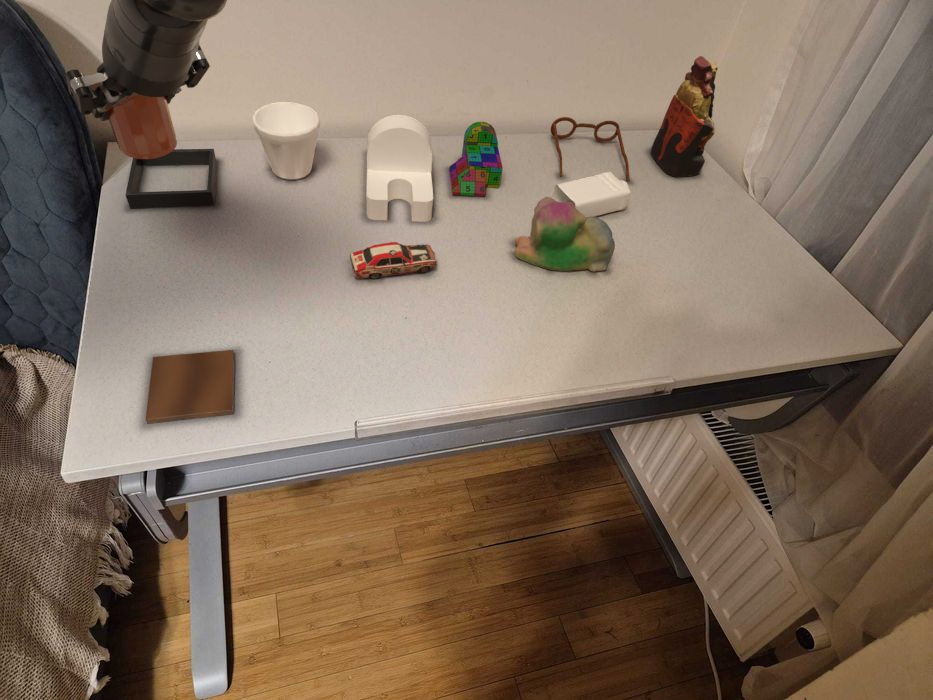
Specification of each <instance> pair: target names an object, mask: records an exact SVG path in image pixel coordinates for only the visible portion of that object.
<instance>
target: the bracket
mask: <svg viewBox="0 0 933 700" xmlns="http://www.w3.org/2000/svg"><path fill="white" fill-rule="evenodd" d="M432 168H433V151H432V140H431V136H430V134H429V130H428V129H427V128H426V127H425V125H424V124H423V123H421V122H420V121H419V120H418V119H416V118H414V117H411V116H409V115H404V114H391V115H388V116H385V117H382V118H381V119H379V120H377V121H376V122H375V124H373V126H372V127H371V128H370V130H369V132H368V134H367V142H366V195H365V196H366V217H367V219H370V220H372V221H388V206H389V205H388V204H389V202H391V201H392V200H393V201H394V200H402V201H406V202H407V203H409V205H410V213H411V214H410V216H411V217H410V218H411V222H415V223H416V222H419V223H427V222H429V221H431V220H432V216H433V205H434V190H433V189H434V188H433V179H432Z"/></svg>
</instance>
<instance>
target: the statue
mask: <svg viewBox="0 0 933 700" xmlns="http://www.w3.org/2000/svg"><path fill="white" fill-rule="evenodd" d="M718 69H719V67H718V65H717V63H716V62H713V61H709V60H707V58H705V56H702V55H699V56H698V57H696V58H695V59H694V61H693V64H692V65H691V66H690V71H688V72H686V73H685V76H684V80H683V81H682V82H681V84H680V85H679V87H678V88H677V91H676V93H675V94H674V95H673V96H672V98H671V100H670V103H669V105H668V106H667V109H666V112H665V114H664V117H663V120H662V122H661V125H660V128H659V129H658V132H657V134H656V136H655V138H654V141H653V143H652V145H651V149H650V155H651V156H652V158H653V160H654V161H655V162H656V164H657V165H658V166H659V167H660V169H661V170H662V171H663V172H664V173H665V174H667V175H669V176H671V177H675V178H682V177H694V176H697V175H698V174H700V172H701V170H702V169H703V166H704V165H705V163H706V159H705V157H704V155H703V154H704V151H705V147H706V145H707V143H708V141H710V140H711V139H712V137H713V136H714V135H715V133H716V130H715V122H713V120H712V118H713V111H714V100H715V90H716V84H715V82H716V81H715V80H716V77H717V72H718Z"/></svg>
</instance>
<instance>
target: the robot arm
mask: <svg viewBox="0 0 933 700" xmlns="http://www.w3.org/2000/svg"><path fill="white" fill-rule="evenodd" d="M227 2H228V0H111V1H110V3H109V5H108V7H107V12H106V13H107V14H106V21H105V26H104V31H103V38H102V43H101V56H102V63H100V64H99V65H98V66H97V68H96V72H95V73H91V74H88V75H86V74H85V73H84V72H80V70H79V69H70V70H68V71H67V72H66V73H65V75H66V76H65V77H66V82H67V88H68V93H69V94H70V96H71V97H72V99H73V100H74V102H75V104H76V106H77V108H78V110H79V113H80V115H82V116H85V115H86V116H88V115H91V114H92V115H93V117H94V119H100V121H101V122H105V121H106V122H107V121H109V117H110V113H111V108H112V107H113V106H123V105H124V104H126V103H127V102H128V101H130V100H131V99H132V98H134V97H135V96H140V95H143V96H147V97H163V96H166V100H167V104H168V105H170V104H171V102H172V100H173V99H174V98H175V97H176V95H177V94H179V93H180V92H182V87H183V86H186V88H187V89H194V88H196V87H197V86H198V85H199V83H200V82H201V80H202V79H203V77H204V76H205V75H206V73H207V72H208V70H209V68H211V65H210V63H209V61H208V59H207V57H206V55H205V53H204V51H203V49H202V47H201V45H200V40H201V37H202V35H203V33H204V31H205V29H206V27H207V24H208V21H209V20H210V19H213V18H215V17H217V16H218V15H219V14H220V13H221V12H222V11H223V10H224V8H225V7H226V4H227ZM101 90H102V91H103V93H104V94H105V96H106V99H105V97H104V95H103V93H102V92H101ZM119 93H121V94H119Z"/></svg>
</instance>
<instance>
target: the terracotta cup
mask: <svg viewBox="0 0 933 700" xmlns="http://www.w3.org/2000/svg"><path fill="white" fill-rule="evenodd" d="M101 92H102V93H103V91H102V90H101ZM119 94H121V93H119ZM103 95H104V97H105V99H106V96H105V94H104V93H103ZM169 108H170V107H169V104H167V100H166V96H163V97H147V96H143V95H140V96H135V97H134V98H132V99H131V100H130V101H128V102H127V103H126V104H124V105H123V106H113V107H112V108H111V113H110V117H109V120H108V121H109V125H110V127H111V130H112V132H113V135H114V138H115V140H116V144H117V146H118V148H119V151H120V152H121V153H122V154H123V155H125V156H126V157H129V158H132V159H133V158H136V159H153V158H158V157H162V156H165V155H167V154H169V153H170V152H172V151H173V150H174V149H176V147H177V144H178V140H177V135H176V131H175V127H174V123H173V120H172V116H171V112H170V109H169Z"/></svg>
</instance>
